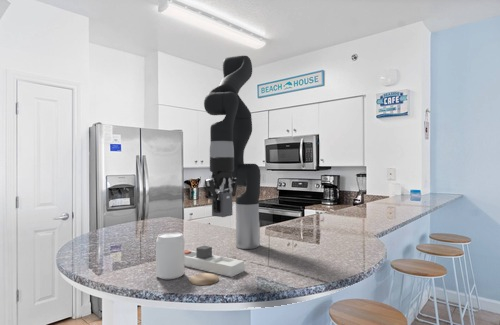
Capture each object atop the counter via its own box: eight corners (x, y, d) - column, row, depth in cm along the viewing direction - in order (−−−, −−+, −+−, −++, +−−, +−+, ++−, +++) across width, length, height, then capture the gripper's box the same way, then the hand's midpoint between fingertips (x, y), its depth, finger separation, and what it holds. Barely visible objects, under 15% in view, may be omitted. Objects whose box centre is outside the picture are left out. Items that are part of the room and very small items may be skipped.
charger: (221, 214, 101) (221, 192, 101) (232, 215, 99) (232, 192, 99) (212, 215, 98) (211, 193, 98) (223, 217, 95) (223, 193, 95)
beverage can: (186, 271, 98) (186, 231, 98) (181, 280, 89) (181, 237, 90) (160, 271, 97) (160, 232, 98) (152, 280, 89) (152, 238, 89)
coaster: (203, 273, 95) (203, 271, 95) (224, 278, 91) (224, 276, 91) (183, 281, 88) (183, 279, 88) (205, 287, 84) (205, 285, 84)
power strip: (183, 257, 112) (183, 240, 112) (244, 270, 97) (244, 251, 98) (169, 262, 107) (169, 244, 107) (231, 276, 92) (231, 256, 92)
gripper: (226, 157, 107) (226, 208, 106) (197, 156, 95) (197, 213, 94) (244, 156, 102) (245, 209, 102) (216, 155, 90) (216, 215, 90)
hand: (222, 211), depth 98 cm, fingers closed on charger, 4 cm apart
